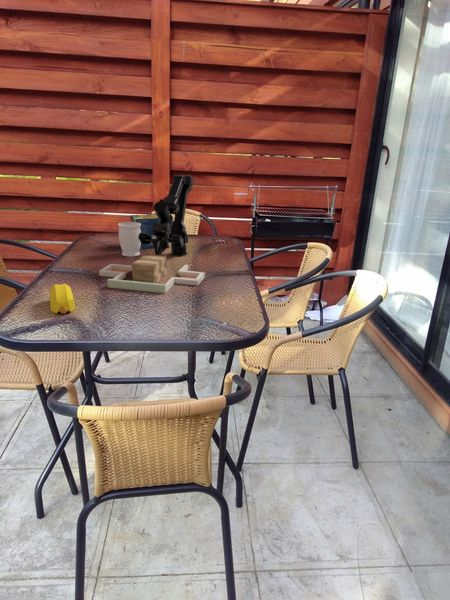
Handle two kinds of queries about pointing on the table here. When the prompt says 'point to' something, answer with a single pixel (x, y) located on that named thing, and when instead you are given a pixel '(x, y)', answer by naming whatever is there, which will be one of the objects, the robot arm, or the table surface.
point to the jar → (129, 238)
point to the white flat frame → (122, 270)
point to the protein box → (146, 225)
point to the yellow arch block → (61, 299)
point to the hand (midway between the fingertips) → (156, 257)
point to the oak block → (149, 268)
